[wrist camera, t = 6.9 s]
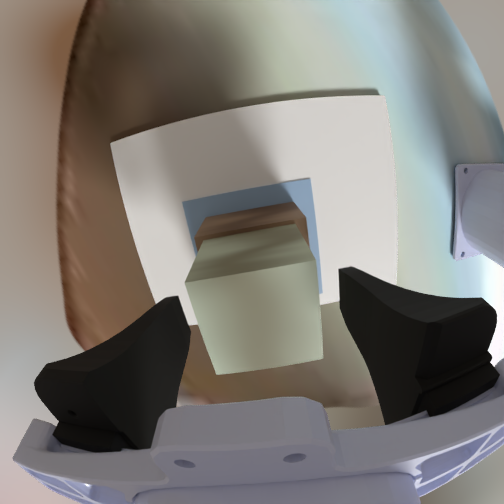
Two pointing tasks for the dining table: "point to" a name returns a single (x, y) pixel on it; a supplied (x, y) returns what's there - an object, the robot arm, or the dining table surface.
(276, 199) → the board
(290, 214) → the walnut base
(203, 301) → the sage block
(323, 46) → the dining table surface
